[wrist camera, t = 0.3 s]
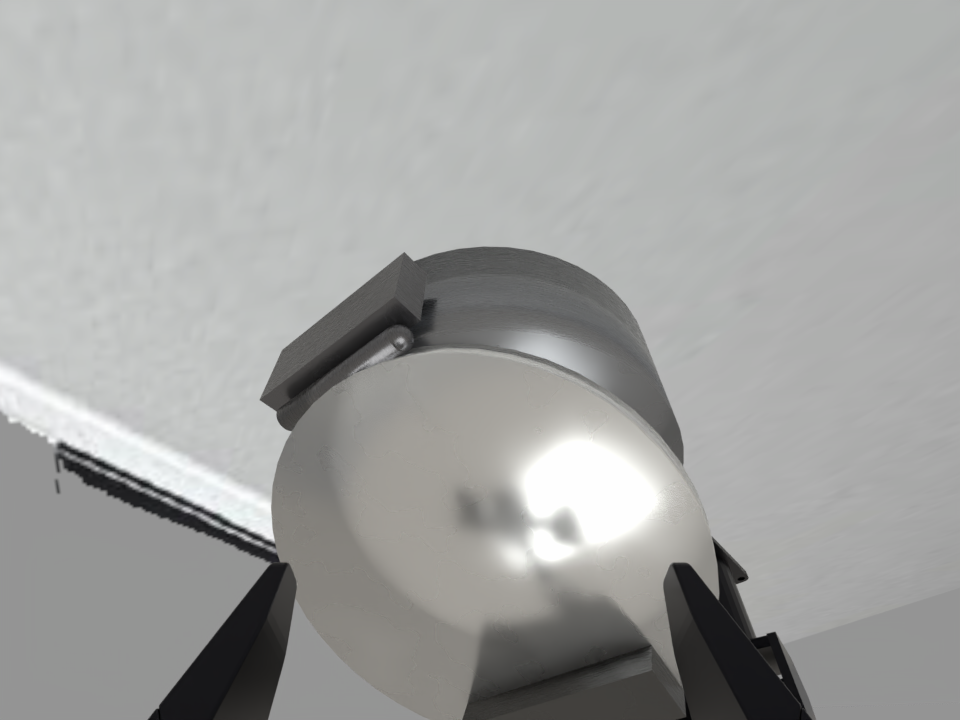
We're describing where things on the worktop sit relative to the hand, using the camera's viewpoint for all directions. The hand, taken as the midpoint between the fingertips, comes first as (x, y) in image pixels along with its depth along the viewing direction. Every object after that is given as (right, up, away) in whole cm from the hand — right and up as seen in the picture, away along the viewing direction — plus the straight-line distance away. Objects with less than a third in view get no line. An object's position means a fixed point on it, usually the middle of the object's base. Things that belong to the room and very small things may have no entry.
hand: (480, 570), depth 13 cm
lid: (0, -2, +7) cm, 7 cm away
